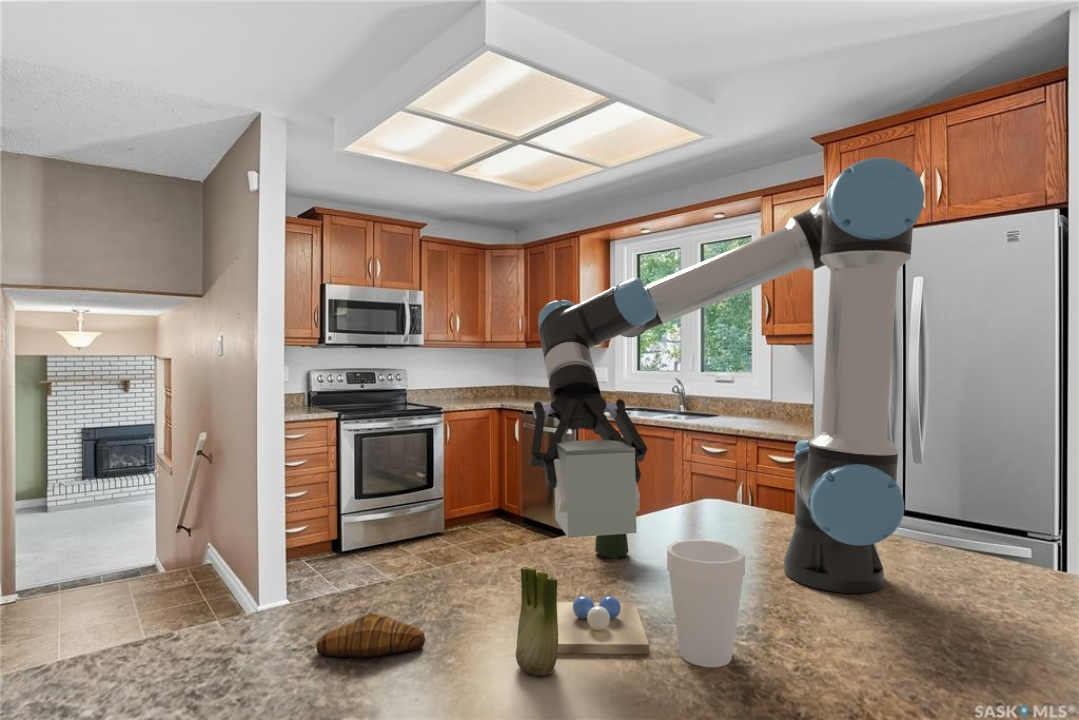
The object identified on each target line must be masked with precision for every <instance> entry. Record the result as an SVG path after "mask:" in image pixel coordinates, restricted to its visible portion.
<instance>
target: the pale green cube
mask: <svg viewBox="0 0 1079 720" xmlns="http://www.w3.org/2000/svg"><path fill="white" fill-rule="evenodd" d="M556 459H560V465H561V470H562V476H563V482H564V487H565V493H566V499H567V503H566V507H565V511H564V512H559V510H558V504H557V498H556V492H555V491H554V507H555V509H554V514H555V517H554V518H555V521H556V522H557V524H558V525H559V527H560V528H561V529H562V531H563V533H564V534H565V535H566V537H567V538H579V537H580V538H581V537H583V538H585V537H596V536H599V535H614V534H626V535H627V534H637V512H636V481H635V448H634V447H632V446H630V445H627V444H625V443H623V442H621V441H614V440H609V439H604V440H603V439H588V440H587V439H586V440H584V439H583V440H563V441H562V442H561V443H557V454H556Z"/></svg>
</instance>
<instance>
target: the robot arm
mask: <svg viewBox="0 0 1079 720" xmlns="http://www.w3.org/2000/svg"><path fill="white" fill-rule="evenodd" d="M924 204H925V190H924V185H923V183H922V181H921V178H920V177H919V176H918V174H917V173H916V172H915V171H914V170H912V168H911V167H909V166H908V165H907V164H906V163H903V162H901V161H899V160H897V159H893V158H889V157H871V158H865V159H863V160H860V161H857V162H855V163H853V164H851V165H850V166H848V167H847V168H845V169H844V170H843V171H841V172H840V173H839V174H837V176H835V178H834V179H833V181H832V182H831V183H830V185H829V187H828V190H827V192H826V194H825V195H824V196H823V198H821V200H820V201H818V202H817V203H816V204H814V205H813V206H812V207H810V208H809V209H807V210H805V211H803V212H801V213H799V214H797V215H795V216H792V217H790V218H789V220H788V221H787V223H786V225H785V226H784V227H782V228H780V229H777V230H775V231H772V232H769V233H768V234H765V235H763V236H761V237H757V238H755V239H754V240H750V241H748V242H747V243H744V244H742V245H739V246H737V247H734V248H732V249H730V250H728V251H724V252H723V253H720V254H718V255H716V256H713V257H711V258H708V259H706V260H703V261H702V262H699V263H696V264H695V265H691V266H690V267H687V268H685V269H681V270H679V271H678V272H675V273H673V274H671V275H668V276H666V277H663V278H661V279H659V280H657V281H654V282H652V283H649V284H647V285H646V284H645V283H644V281H643V280H642V279H641V278H640V277H632V278H629V279H628V280H625V281H622V282H621V281H620V282H619V283H616V285H614V286H612V287H611V288H609V289H606V290H604V291H603V292H601V293H599V294H597V295H593V296H592V297H590V298H589V299H586V300H585V301H582V302H580V303H577V304H576V303H575V302H572V301H570V300H566V299H561V300H554V301H551V302H548V303H547V304H546V305H545V306H544V307H543V308H542V309H541V310H540V312H539V314H538V317H537V319H538V323H537V324H538V336H539V341H540V344H541V348H542V355H543V359H544V365H545V369H546V375H547V376H546V377H547V382H548V388H549V393H550V400H551V402H550V403H548V404H543V403H542V402H541V401H535V402H534V403H533V411H532V417H533V421H534V425H535V426H534V431H533V437H532V439H533V440H532V444H531V451H530V452H531V453H530V459H529V464H530V466H532V467H542V471H543V473H544V476H545V483H546V486H547V487H548V489H552V488H553V489H554V493H555V492H556V498H557V504H558V510H559V512H564V511H565V507H566V503H567V499H566V493H565V487H564V482H563V476H562V470H561V465H560V459H556V454H557V443H561V442H562V441H565V437H566V436H567V434H568V432H569V430H570V431H577V430H580V429H583V430H591V431H592V432H594V433H595V435H599V437H600V438H601V440H604V439H609V440H614V441H621V442H623V443H625V444H627V445H630V446H632V447H634V448H635V481H636V507H637V505H638V502H639V499H641V494H640V490H639V487H638V484H639V483H640V479H641V476H642V475H641V470H640V466H639V463H640V462H643V461H644V459H645V458H646V454H647V450H648V447H647V445H646V444H645V441H644V440H643V438H642V436H641V434H640V432H639V431H638V429H637V428H636V426H635V425H634V423H633V421H632V420H631V417H630V415H629V414H628V412H627V410H626V403H625V401H624V399H621V398H620V399H617V400H616V402H607V401H606V400H605V399H604V398H603V396H602V393H601V390H600V385H599V381H598V378H597V374H596V368H595V366H594V362H593V358H592V354H591V350H590V349H591V348H593V347H596V346H599V345H600V344H603V343H605V342H607V341H609V340H612V339H614V338H616V337H619V336H621V337H624V338H636V337H638V336H641V335H642V334H645V333H646V331H649V330H651V329H654V328H656V327H659V326H661V325H662V324H665V323H668V322H670V321H673V320H676V319H678V318H680V317H682V316H685V315H687V314H690V313H692V312H695V311H698V310H700V309H703V308H705V307H708V306H710V305H713V304H715V303H718V302H721V301H722V300H725V299H728V298H730V297H733V296H735V295H738V294H741V293H742V292H745V291H748V290H750V289H753V288H755V287H758V286H760V285H763V284H765V283H767V282H771V281H772V280H776V279H778V278H781V277H783V276H786V275H788V274H790V273H793V272H795V271H799V270H800V269H806V270H808V271H811V272H813V271H815V270H817V269H820V268H822V267H826V268H827V269H828V270H829V271H830V276H829V277H830V278H829V297H828V311H827V327H826V344H825V356H824V357H825V359H824V360H825V361H824V373H823V374H824V377H823V390H822V391H823V395H822V408H821V410H822V411H821V422H820V424H821V425H820V431H819V433H817V434H816V435H815V436H814V437H812V438H811V439H801V440H798V441H797V443H796V444H795V447H794V448H795V449H794V455H793V460H794V474H795V475H794V479H795V480H794V515H795V516H794V520H795V521H794V529H793V532H792V535H791V538H790V541H789V544H788V546H787V549H786V552H785V554H784V558H783V561H784V562H783V571H784V573H785V575H786V576H787V577H788V578H790V579H792V580H793V581H794V582H797V583H799V584H802V585H804V586H808V587H811V588H814V589H819V590H822V591H829V592H833V593H843V594H865V593H873V592H877V591H879V590H881V589H882V588H883V587H884V585H885V570H884V567H883V564H882V561H881V558H880V554H879V552H878V549H877V547H876V544H878V543H880V542H882V541H884V540H885V539H887V538H889V537H890V536H892V535H893V534H894V533H895V532H896V530H897V529H898V528H899V526H900V525H901V523H902V520H903V517H904V515H905V501H904V497H903V496H904V494H902V489H901V488H900V486H899V484H898V483H897V477H898V461H899V459H898V457H899V449H897V447H895V445H893V443H892V442H891V441H889V439H888V437H887V436H888V421H889V409H890V408H889V406H890V405H889V404H890V393H891V392H890V391H891V389H890V388H891V374H892V361H893V360H892V359H893V347H894V346H893V344H894V328H895V326H894V325H895V313H896V311H895V310H896V295H897V283H898V271H899V270H900V268H901V267H902V266H904V265H905V264H906V263H908V261H910V260H911V257H912V244H913V232H914V231H913V230H914V225H915V224H916V223H917V221H918V220H919V217H920V216H921V213H922V210H923V209H924ZM605 412H607V413H608V414H609V415H610V418H611V419H613V420H614V423H615V425H616V426H617V428H618V430H619V431H618V430H617V429H616V428H615V427H614V426H613V425H612V424H611V422H610V421H609V420H608V417H607V416H606V414H605ZM549 414H551V415H552V417H554V418H555V419H556V420H558V425H557V427H556V429H555V431H554V434H553V436H552V439H551V441H550V444H548V448H547V450H546V452H545V453H544V452H541V450H542V441H543V433H544V427H545V421H546V420H547V419H548V418H549Z"/></svg>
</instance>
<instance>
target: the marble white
mask: <svg viewBox="0 0 1079 720" xmlns="http://www.w3.org/2000/svg"><path fill="white" fill-rule="evenodd" d="M587 621H588V624H589V625H590V627H591V628H593V629H594V630H598V631H600V630H604V629H605V628H606V627H607V626H608V625H609V622H610V615H609V613H608V611H607V610H606V609H605V608H604V607H601V606H595V607H593V608H591V609H590V610H589V612H588V615H587Z"/></svg>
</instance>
